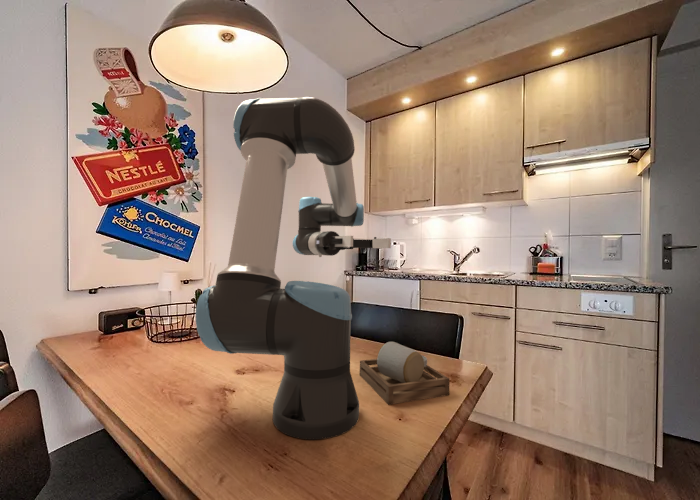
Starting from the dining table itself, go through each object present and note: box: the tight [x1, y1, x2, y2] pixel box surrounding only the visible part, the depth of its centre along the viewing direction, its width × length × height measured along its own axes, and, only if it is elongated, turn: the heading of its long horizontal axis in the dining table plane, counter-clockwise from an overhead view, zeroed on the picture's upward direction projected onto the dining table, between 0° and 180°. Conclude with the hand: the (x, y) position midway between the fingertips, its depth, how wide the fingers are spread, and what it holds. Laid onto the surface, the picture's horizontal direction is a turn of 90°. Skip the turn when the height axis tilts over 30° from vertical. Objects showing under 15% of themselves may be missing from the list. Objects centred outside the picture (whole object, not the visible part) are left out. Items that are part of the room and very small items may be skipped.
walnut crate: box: [359, 358, 450, 405], centre depth 69 cm, size 14×15×3 cm
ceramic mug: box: [376, 341, 428, 383], centre depth 70 cm, size 11×8×8 cm
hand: (372, 242), depth 82 cm, fingers open, 13 cm apart
